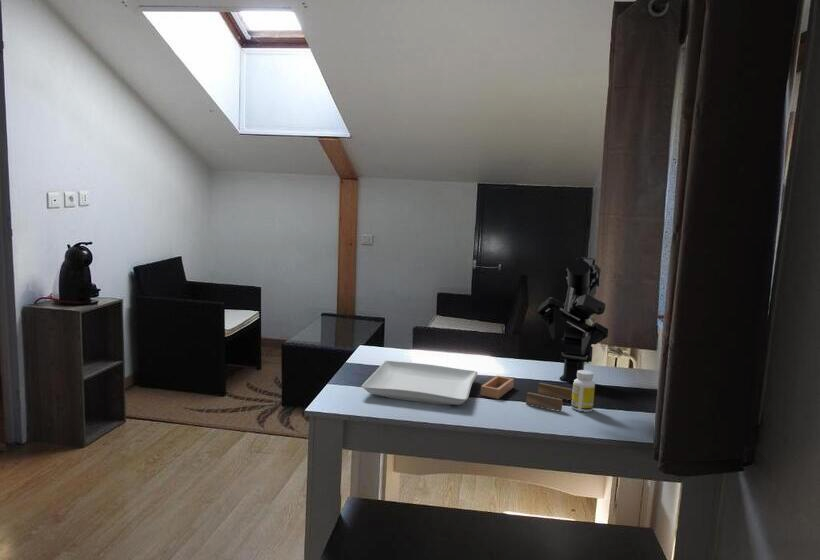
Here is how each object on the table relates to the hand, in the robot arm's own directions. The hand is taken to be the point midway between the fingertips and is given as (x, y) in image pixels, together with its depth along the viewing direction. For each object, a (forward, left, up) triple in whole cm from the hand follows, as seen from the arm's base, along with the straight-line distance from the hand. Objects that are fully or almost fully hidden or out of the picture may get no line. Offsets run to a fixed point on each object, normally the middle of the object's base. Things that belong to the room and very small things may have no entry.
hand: (568, 346), depth 165 cm
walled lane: (-1, -4, -16) cm, 16 cm away
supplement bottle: (-1, +5, -16) cm, 17 cm away
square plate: (+10, -36, -16) cm, 41 cm away
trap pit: (-1, -18, -16) cm, 24 cm away
